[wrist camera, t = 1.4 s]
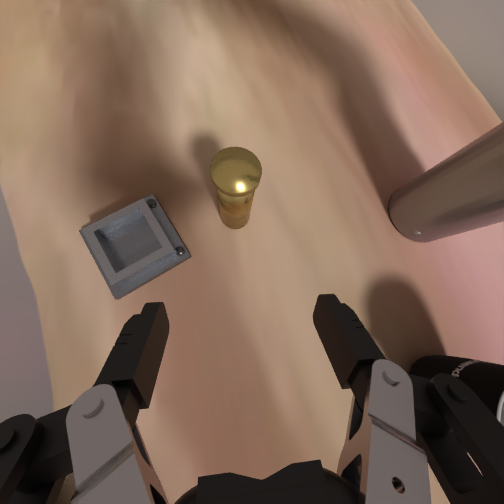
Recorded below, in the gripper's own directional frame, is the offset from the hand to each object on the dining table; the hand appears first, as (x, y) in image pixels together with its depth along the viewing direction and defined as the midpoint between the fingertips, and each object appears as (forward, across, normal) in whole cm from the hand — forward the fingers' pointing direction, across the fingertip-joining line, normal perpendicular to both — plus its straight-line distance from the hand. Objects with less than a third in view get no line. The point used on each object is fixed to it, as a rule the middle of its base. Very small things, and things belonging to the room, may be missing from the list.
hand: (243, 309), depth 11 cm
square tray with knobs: (+17, +12, +6) cm, 22 cm away
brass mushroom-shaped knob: (+20, 0, +3) cm, 20 cm away
